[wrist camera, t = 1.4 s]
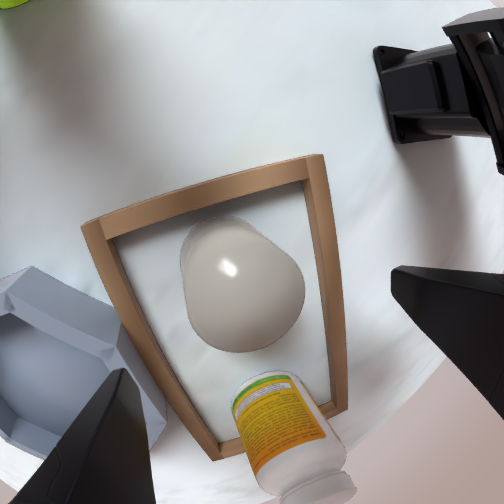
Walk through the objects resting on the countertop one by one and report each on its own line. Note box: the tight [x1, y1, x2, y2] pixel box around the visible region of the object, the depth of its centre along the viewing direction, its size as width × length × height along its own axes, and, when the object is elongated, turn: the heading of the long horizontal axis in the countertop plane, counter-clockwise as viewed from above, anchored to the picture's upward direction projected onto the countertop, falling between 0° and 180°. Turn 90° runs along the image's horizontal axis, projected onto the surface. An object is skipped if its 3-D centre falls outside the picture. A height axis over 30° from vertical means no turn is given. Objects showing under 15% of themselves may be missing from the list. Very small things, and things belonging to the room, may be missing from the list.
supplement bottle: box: [231, 371, 357, 504], centre depth 14 cm, size 5×5×10 cm
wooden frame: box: [81, 154, 348, 461], centre depth 16 cm, size 12×20×1 cm, turn 14°
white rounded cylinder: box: [180, 216, 305, 353], centre depth 13 cm, size 4×4×5 cm
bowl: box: [0, 266, 167, 460], centre depth 12 cm, size 14×14×3 cm
